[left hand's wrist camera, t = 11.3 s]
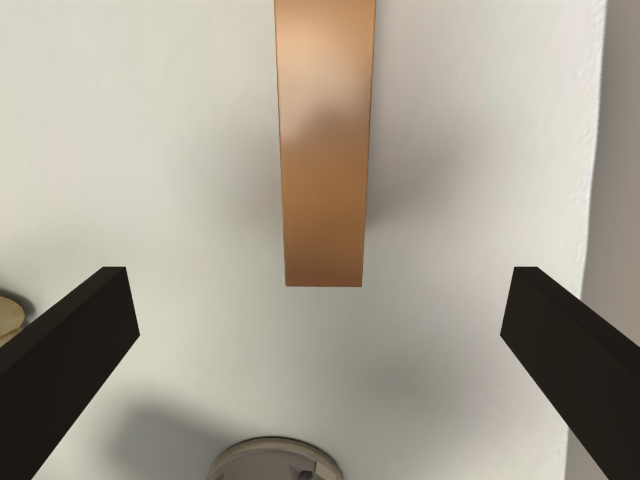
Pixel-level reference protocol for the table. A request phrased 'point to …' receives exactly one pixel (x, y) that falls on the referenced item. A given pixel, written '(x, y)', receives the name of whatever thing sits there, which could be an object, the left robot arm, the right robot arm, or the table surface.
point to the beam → (324, 136)
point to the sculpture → (9, 319)
